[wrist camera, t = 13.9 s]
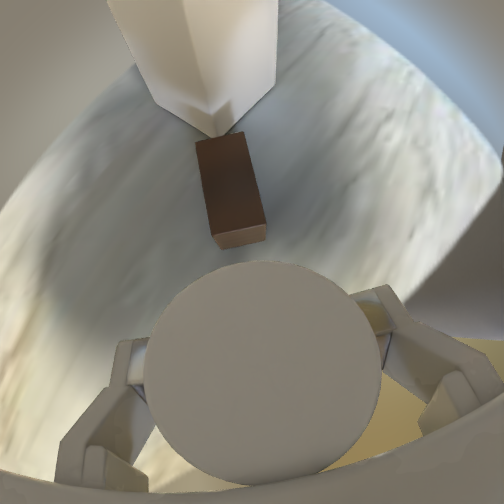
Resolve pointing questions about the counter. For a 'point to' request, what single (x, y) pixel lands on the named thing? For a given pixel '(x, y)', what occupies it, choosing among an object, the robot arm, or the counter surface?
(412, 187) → the counter surface
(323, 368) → the supplement bottle
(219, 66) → the milk carton
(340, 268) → the counter surface
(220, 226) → the brown wooden block
